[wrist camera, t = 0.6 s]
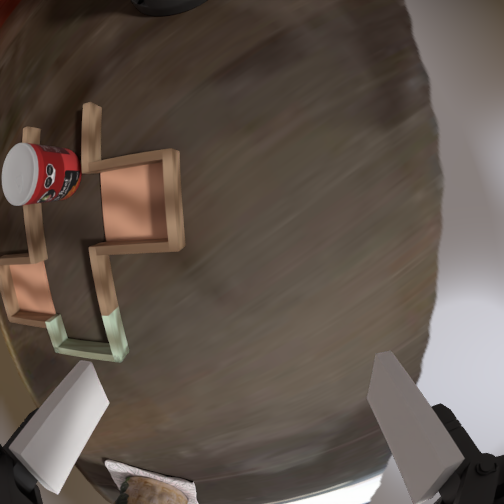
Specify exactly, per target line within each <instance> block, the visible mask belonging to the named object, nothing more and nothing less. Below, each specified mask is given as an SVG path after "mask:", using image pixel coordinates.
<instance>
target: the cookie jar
mask: <svg viewBox="0 0 504 504" xmlns="http://www.w3.org/2000/svg"><path fill="white" fill-rule="evenodd" d="M105 466H106V468H107V469H108V471H109V472H110V474H111V477H112V479H113V480H114V482H115V483H116V484H117V486H118V488H119V490H120V494H121V495H120V496H119V497H118V499H117V500H116V501H115V502H114V504H199V503H198V502H197V499H196V488H195V485H194V482H193V483H190V482H189V481H187V480H184V479H181V478H175V477H167V476H164V475H161V474H158V473H154V472H150V471H146V470H143V469H139V468H136V467H132V466H129V465H126V464H123V463H120V462H117V461H114V460H106V461H105Z"/></svg>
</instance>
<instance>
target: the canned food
mask: <svg viewBox="0 0 504 504" xmlns="http://www.w3.org/2000/svg"><path fill="white" fill-rule="evenodd" d="M81 173H82V170H81V163H80V160H79V158H78V157H77V155H76V154H75V153H74V152H73V151H71V150H69V149H65V148H59V147H52V146H46V145H39V144H31V143H19V144H17V145H15V146H14V147H13V148H12V149H11V150H10V151H9V153H8V155H7V157H6V159H5V162H4V165H3V170H2V187H3V191H4V195H5V197H6V199H7V200H8V201H9V203H11V204H12V205H15V206H22V205H30V204H37V203H44V202H51V201H59V200H64V199H67V198H69V197H70V196H72V195H73V194H74V193H75V191H76V190H77V188H78V186H79V184H80V181H81Z"/></svg>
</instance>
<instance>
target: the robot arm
mask: <svg viewBox="0 0 504 504" xmlns="http://www.w3.org/2000/svg"><path fill="white" fill-rule="evenodd" d="M206 1H207V0H131V2H132V3H133V4H134V6H135V7H136V8H137V10H139V11H140V12H142V13H144V14H147V15H152V16H167V15H173V14H178V13H181V12H185V11H187V10H190V9H193V8H195V7H197V6H199V5H201V4H203V3H204V2H206ZM367 400H368V402H369V404H370V406H371V408H372V410H373V412H374V415H375V417H376V419H377V421H378V423H379V425H380V428H381V430H382V432H383V434H384V436H385V439H386V441H387V443H388V445H389V448H390V450H391V452H392V454H393V457H394V459H395V461H396V464H397V466H398V468H399V471H400V473H401V475H402V478H403V480H404V483H405V485H406V487H407V490H408V492H409V495H410V497H411V500H412V502H413V504H420V503H422V502H424V501H427V500H429V499H431V498H433V496H434V495H435V494H436V493H437V492H438V491H439V493H440V495H441V497H440V498H439V499H438V500H437V501H436V502H435V503H434V504H504V455H502V456H498V457H495V456H494V455H492V454H488V453H481V452H480V451H479V450H478V448H477V446H476V445H475V444H474V442H473V441H472V439H471V438H470V436H469V435H468V433H467V432H466V431H465V429H464V428H463V427H462V426H461V424H460V423H459V421H458V420H457V419H456V417H455V415H454V414H453V413H452V411H451V410H450V409H449V408H447V407H446V406H444V405H443V404H437V405H435V406H432V407H431V406H430V405H429V403H428V402H427V400H426V399H425V397H424V396H423V394H422V393H421V392H420V390H419V389H418V387H417V386H416V385H415V383H414V382H413V380H412V379H411V378H410V376H409V375H408V373H407V372H406V371H405V369H404V368H403V367H402V365H401V364H400V362H399V361H398V360H397V358H396V357H395V356H394V354H393V353H392V352H391V351H386V352H381V353H376V354H375V360H374V366H373V371H372V376H371V381H370V386H369V391H368V395H367ZM108 405H109V401H108V399H107V397H106V395H105V392H104V390H103V388H102V386H101V383H100V381H99V379H98V376H97V374H96V371H95V369H94V366H93V364H92V362H88V361H81V360H80V361H79V362H78V363H77V365H76V366H75V367H74V368H73V369H72V370H71V371H70V373H69V374H68V375H67V376H66V377H65V378H64V379H63V381H62V382H61V383H60V384H59V385H58V387H57V388H56V389H55V390H54V391H53V392H52V394H51V395H50V396H49V397H48V398H47V400H46V401H45V402H44V403H43V404H42V406H41V407H40V408H37V409H36V410H34V411H33V412H31V413H30V414H29V415H28V416H27V418H26V419H25V420H24V422H22V424H21V425H20V427H18V429H17V430H16V431H15V432H14V434H13V435H12V436H11V438H10V439H9V440H8V442H7V443H6V444H5V445H4V446H3V447H2V446H1V444H0V504H43V502H42V498H41V494H40V490H39V488H38V486H37V485H36V483H37V481H39V482H40V483H41V484H42V485H43V486H44V487H45V488H46V489H48V490H50V491H52V492H54V493H56V494H59V492H60V490H61V488H62V486H63V484H64V482H65V480H66V479H67V477H68V475H69V473H70V471H71V469H72V468H73V466H74V464H75V462H76V460H77V458H78V457H79V455H80V453H81V451H82V450H83V448H84V446H85V444H86V442H87V441H88V439H89V437H90V435H91V434H92V432H93V430H94V429H95V427H96V425H97V423H98V422H99V420H100V418H101V417H102V415H103V413H104V411H105V410H106V408H107V406H108Z"/></svg>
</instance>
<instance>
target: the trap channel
mask: <svg viewBox="0 0 504 504" xmlns="http://www.w3.org/2000/svg"><path fill="white" fill-rule="evenodd" d="M101 117H102V108H101V107H99V106H97V105H95V104H93V103H91V102H89V103H86V104H83V115H82V142H81V161H82V174H98V173H100V175H101V194H102V207H103V218H104V227H105V236H106V242H100V243H98V244H95V245H93V246H90V247H88V248H89V255H90V261H91V267H92V273H93V278H94V283H95V288H96V293H97V297H98V302H99V306H100V311H101V315H102V319H103V323H104V326H105V330H106V334H107V337H108V341H109V343H102V342H92V341H84V340H76V339H69V338H68V337H67V334H66V331H65V328H64V325H63V321H62V318H61V314H56V312H55V308H54V305H53V301H52V297H51V293H50V289H49V284H48V280H47V275H46V270H45V265H44V260H46V259H48V256H47V250H46V244H45V237H44V229H43V220H42V209H41V203H37V204H30V205H23V210H24V221H25V230H26V237H27V244H28V251H29V253H22V254H10V255H4V256H1V257H0V290H1V294H2V298H3V302H4V305H5V309H6V312H7V315H8V319H9V322H13V323H19V324H24V325H30V326H36V327H43V328H47V330H48V333H49V336H50V339H51V341H52V344H53V347H54V350H55V352H56V353H61V354H67V355H72V356H78V357H84V358H91V359H98V360H105V361H113V362H122V361H123V359H124V358H125V357H126V355H127V354H128V352H129V348H128V344H127V340H126V336H125V332H124V328H123V324H122V320H121V316H120V311H119V307H118V302H117V297H116V292H115V287H114V282H113V276H112V270H111V264H110V258H109V255H116V254H135V253H155V252H175V251H180V250H181V249H182V248H183V247H185V246H186V245H185V234H184V222H183V209H182V194H181V177H180V154H179V151H177V150H174V149H172V148H170V149H162V150H155V151H149V152H143V153H137V154H131V155H126V156H120V157H115V158H110V159H105V160H101ZM40 130H41V129H38V128H33V127H25V128H23V138H22V143H31V144H39V145H40Z"/></svg>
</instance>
